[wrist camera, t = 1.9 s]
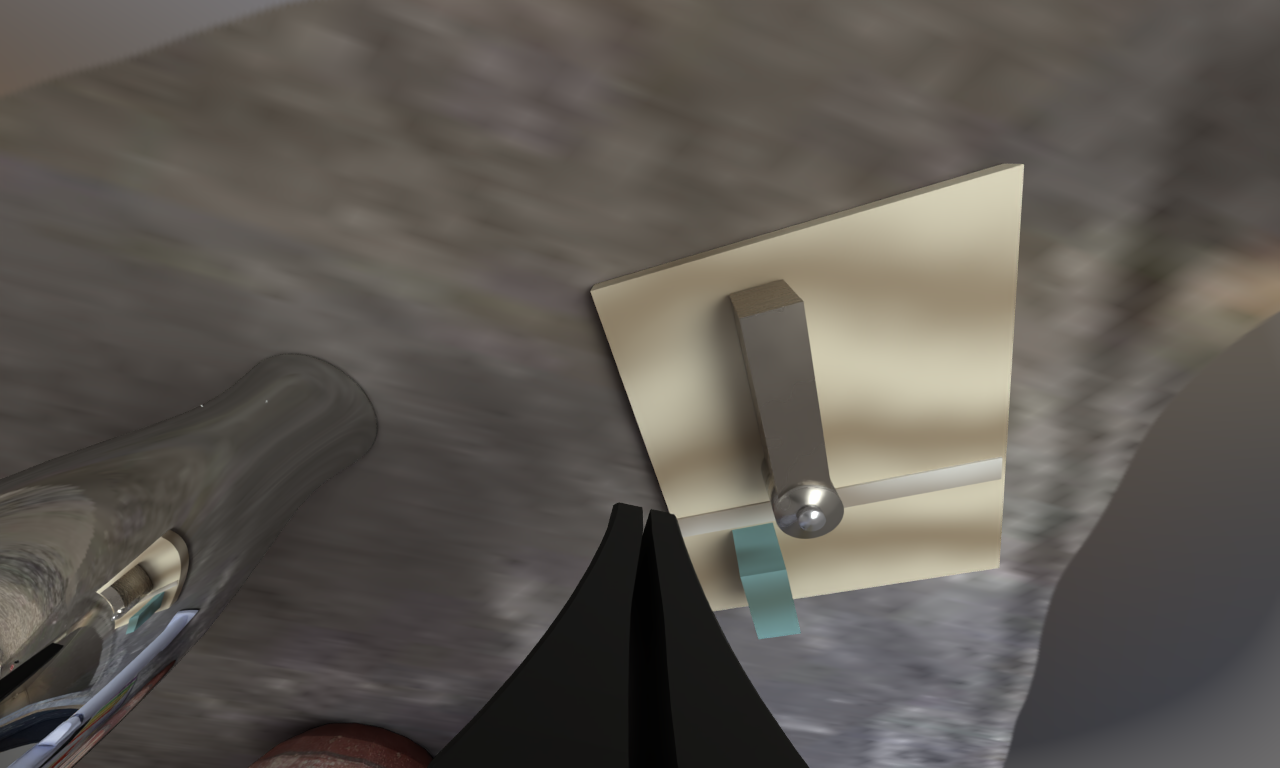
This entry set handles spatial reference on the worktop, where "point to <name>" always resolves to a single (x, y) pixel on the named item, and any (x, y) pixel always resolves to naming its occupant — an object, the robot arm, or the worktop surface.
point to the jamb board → (837, 392)
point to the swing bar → (786, 409)
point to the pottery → (346, 749)
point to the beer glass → (152, 546)
